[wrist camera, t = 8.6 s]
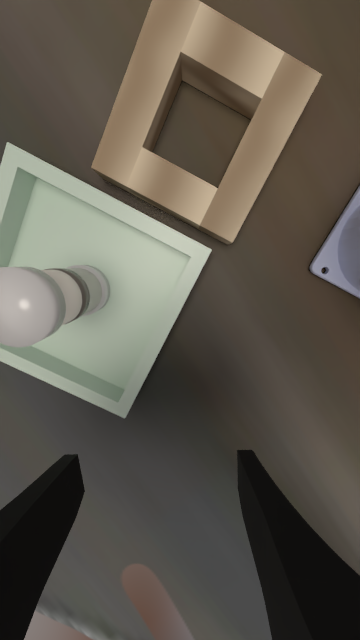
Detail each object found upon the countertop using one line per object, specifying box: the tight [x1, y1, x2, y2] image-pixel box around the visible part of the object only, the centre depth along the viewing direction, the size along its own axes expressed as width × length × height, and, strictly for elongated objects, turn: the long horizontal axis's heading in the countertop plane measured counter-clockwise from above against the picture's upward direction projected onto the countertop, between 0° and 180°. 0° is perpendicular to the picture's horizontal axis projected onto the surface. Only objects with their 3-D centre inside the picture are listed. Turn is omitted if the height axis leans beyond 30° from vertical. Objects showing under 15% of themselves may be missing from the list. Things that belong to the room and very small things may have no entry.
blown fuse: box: [0, 265, 110, 347], centre depth 15 cm, size 4×4×8 cm
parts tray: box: [0, 142, 212, 418], centre depth 18 cm, size 14×14×2 cm
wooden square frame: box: [91, 0, 322, 245], centre depth 15 cm, size 10×10×2 cm
